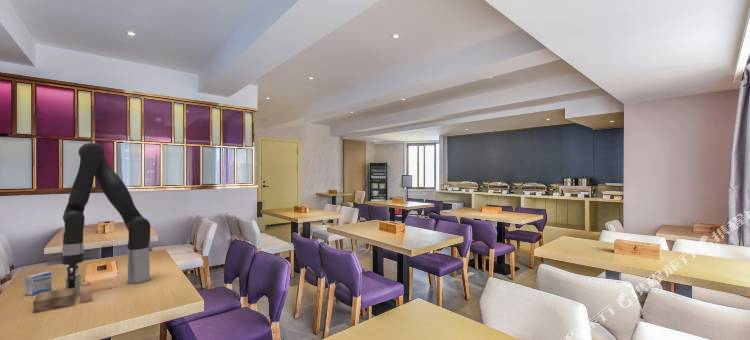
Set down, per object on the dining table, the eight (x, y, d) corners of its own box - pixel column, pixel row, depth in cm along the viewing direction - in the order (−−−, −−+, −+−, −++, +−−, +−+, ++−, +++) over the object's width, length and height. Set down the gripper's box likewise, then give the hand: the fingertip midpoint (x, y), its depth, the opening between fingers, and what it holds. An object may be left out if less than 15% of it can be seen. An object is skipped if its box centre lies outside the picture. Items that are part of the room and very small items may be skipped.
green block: (80, 291, 159) (80, 274, 159) (80, 294, 155) (80, 277, 155) (66, 293, 156) (66, 276, 156) (65, 296, 152) (65, 279, 152)
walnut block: (75, 297, 151) (75, 287, 151) (73, 306, 142) (73, 294, 142) (38, 304, 144) (38, 293, 144) (33, 314, 134) (33, 301, 134)
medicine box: (32, 295, 153) (32, 277, 153) (24, 295, 154) (24, 276, 154) (51, 289, 161) (51, 271, 161) (44, 289, 162) (44, 271, 162)
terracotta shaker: (92, 298, 150) (92, 279, 150) (91, 301, 146) (91, 281, 146) (80, 300, 147) (80, 280, 147) (79, 303, 144) (79, 283, 144)
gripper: (82, 254, 152) (82, 290, 152) (84, 248, 163) (83, 282, 163) (60, 257, 147) (59, 293, 147) (63, 250, 158) (62, 285, 158)
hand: (72, 287), depth 155 cm, fingers open, 8 cm apart
